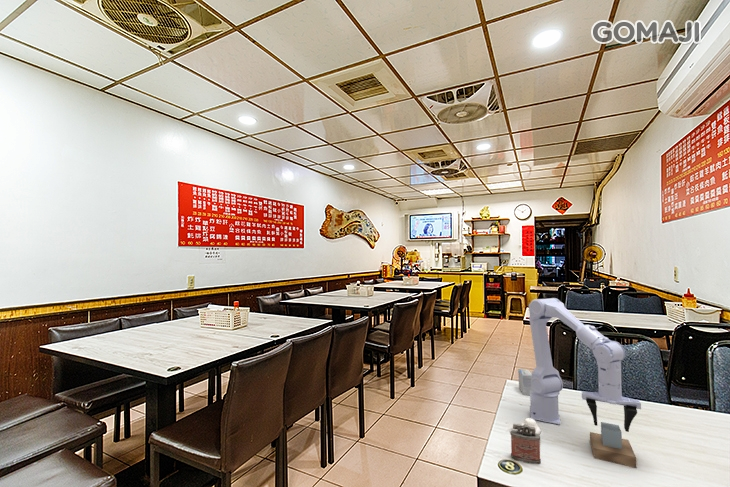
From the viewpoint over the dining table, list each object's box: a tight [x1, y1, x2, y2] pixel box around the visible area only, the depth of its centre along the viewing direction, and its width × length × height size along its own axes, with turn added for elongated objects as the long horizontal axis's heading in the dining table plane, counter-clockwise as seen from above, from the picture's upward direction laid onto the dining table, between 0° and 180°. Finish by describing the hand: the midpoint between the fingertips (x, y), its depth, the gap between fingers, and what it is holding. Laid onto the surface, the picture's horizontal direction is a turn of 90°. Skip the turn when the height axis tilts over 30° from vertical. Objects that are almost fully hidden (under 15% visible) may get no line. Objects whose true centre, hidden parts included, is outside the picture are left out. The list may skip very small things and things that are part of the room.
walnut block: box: [589, 431, 637, 469], centre depth 102 cm, size 10×10×3 cm
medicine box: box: [518, 368, 534, 396], centre depth 147 cm, size 8×4×9 cm, turn 168°
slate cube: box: [600, 421, 623, 449], centre depth 102 cm, size 4×4×5 cm
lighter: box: [509, 423, 542, 465], centre depth 100 cm, size 8×3×10 cm, turn 71°
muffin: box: [520, 417, 542, 436], centre depth 110 cm, size 6×6×7 cm
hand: (610, 427), depth 102 cm, fingers open, 7 cm apart
